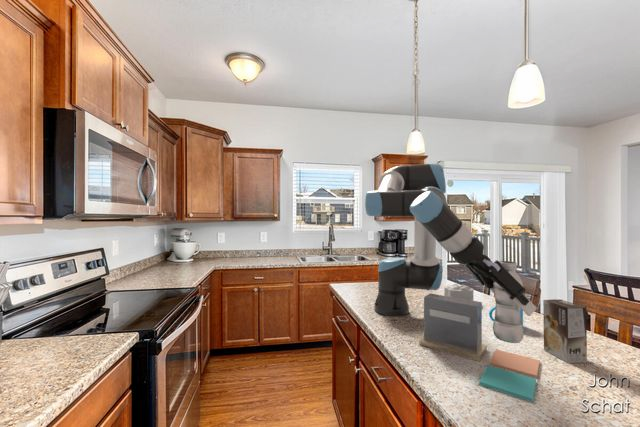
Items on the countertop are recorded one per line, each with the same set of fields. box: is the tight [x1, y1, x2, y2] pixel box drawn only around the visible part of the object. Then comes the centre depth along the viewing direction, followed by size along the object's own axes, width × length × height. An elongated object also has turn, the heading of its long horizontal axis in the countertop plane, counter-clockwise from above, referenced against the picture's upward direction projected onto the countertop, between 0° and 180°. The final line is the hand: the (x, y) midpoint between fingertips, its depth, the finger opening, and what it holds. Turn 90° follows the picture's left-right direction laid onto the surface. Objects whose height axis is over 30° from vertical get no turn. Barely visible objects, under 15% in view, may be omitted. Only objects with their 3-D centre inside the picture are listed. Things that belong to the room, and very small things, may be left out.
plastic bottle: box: [492, 260, 525, 344], centre depth 76 cm, size 6×7×20 cm
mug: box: [488, 305, 524, 328], centre depth 118 cm, size 12×8×8 cm
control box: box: [418, 293, 488, 362], centre depth 97 cm, size 18×10×16 cm, turn 51°
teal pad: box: [478, 364, 537, 403], centre depth 76 cm, size 11×11×1 cm
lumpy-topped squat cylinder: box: [443, 283, 474, 301], centre depth 148 cm, size 10×13×9 cm
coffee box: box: [542, 298, 588, 364], centre depth 91 cm, size 9×6×16 cm
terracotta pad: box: [488, 348, 541, 380], centre depth 86 cm, size 11×11×1 cm
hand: (520, 307), depth 76 cm, fingers closed on plastic bottle, 6 cm apart
